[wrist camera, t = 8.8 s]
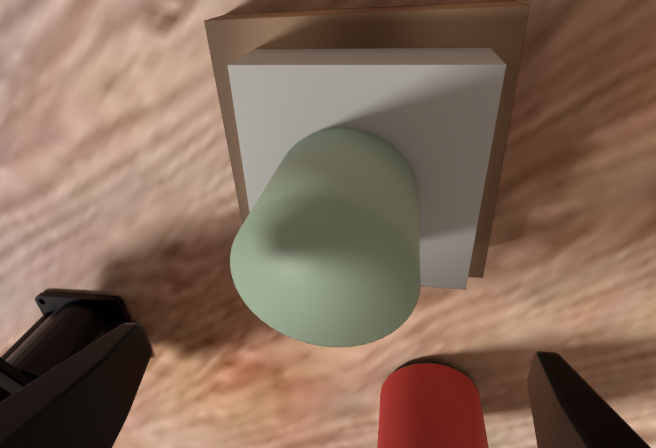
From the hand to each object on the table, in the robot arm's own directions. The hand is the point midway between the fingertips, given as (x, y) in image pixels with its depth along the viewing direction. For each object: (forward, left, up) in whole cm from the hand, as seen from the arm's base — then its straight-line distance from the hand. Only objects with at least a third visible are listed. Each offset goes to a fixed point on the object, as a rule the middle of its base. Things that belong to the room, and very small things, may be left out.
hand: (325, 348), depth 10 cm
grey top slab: (0, 0, -11) cm, 11 cm away
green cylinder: (0, 0, -8) cm, 8 cm away
